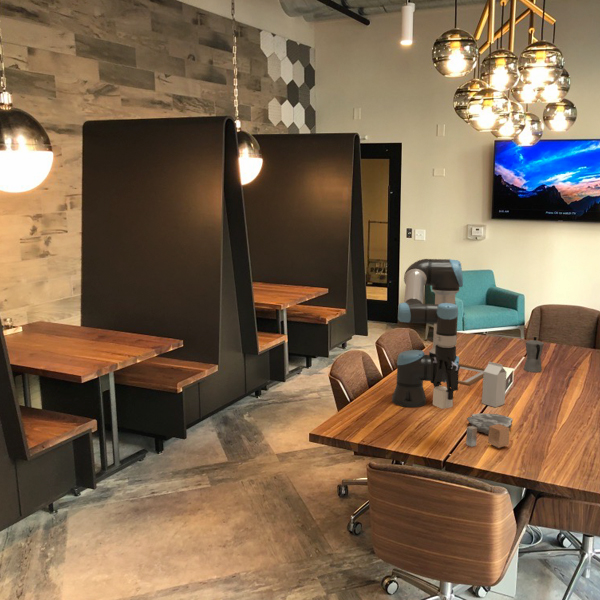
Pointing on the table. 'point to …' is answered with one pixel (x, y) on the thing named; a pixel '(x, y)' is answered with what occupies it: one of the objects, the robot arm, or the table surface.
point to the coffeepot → (533, 355)
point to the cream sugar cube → (440, 397)
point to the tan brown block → (498, 435)
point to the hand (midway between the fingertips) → (442, 404)
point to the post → (471, 436)
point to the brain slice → (488, 421)
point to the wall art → (475, 377)
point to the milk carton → (494, 385)
